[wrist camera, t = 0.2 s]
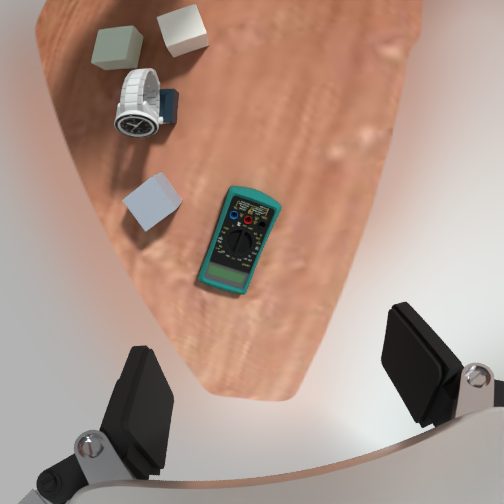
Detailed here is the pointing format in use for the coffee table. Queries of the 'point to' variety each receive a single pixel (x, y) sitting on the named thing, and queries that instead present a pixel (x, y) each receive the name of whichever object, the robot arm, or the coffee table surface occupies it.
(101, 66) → the sage cube
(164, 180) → the slate cube
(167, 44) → the cream cube
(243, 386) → the coffee table surface
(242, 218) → the digital multimeter
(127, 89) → the watch
